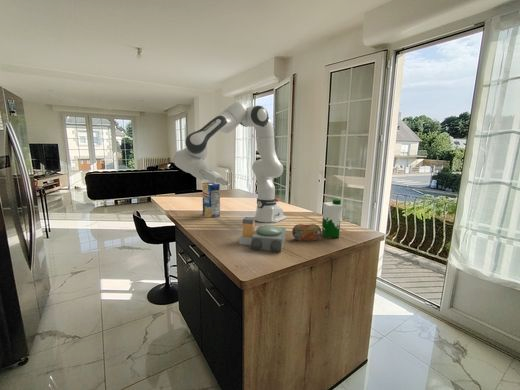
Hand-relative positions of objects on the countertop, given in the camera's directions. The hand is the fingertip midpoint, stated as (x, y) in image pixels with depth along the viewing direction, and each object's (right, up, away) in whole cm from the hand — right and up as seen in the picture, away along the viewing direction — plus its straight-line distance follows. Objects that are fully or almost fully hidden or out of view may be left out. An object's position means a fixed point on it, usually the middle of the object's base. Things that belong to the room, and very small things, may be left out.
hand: (226, 184), depth 135 cm
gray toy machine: (+18, -29, -5) cm, 35 cm away
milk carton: (+55, -28, +8) cm, 63 cm away
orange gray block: (+11, -29, -4) cm, 31 cm away
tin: (+41, -29, +1) cm, 50 cm away
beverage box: (-16, -20, +43) cm, 50 cm away
